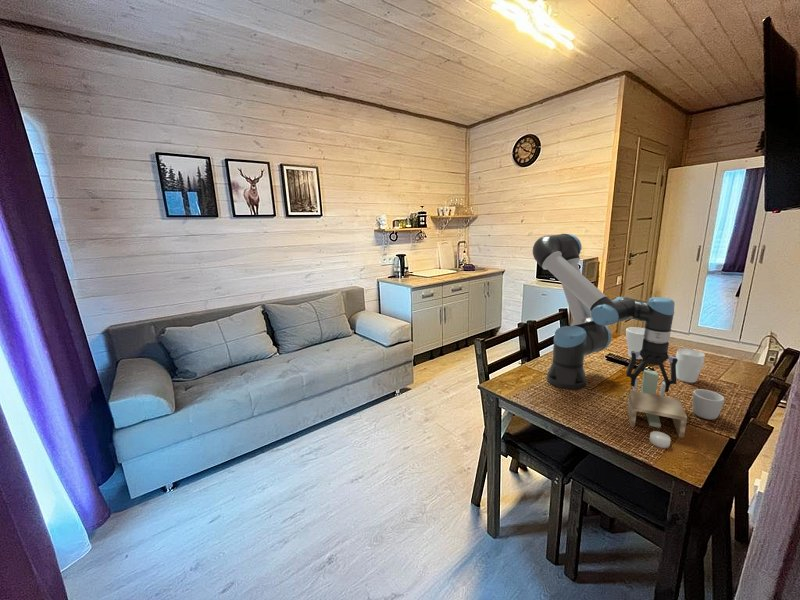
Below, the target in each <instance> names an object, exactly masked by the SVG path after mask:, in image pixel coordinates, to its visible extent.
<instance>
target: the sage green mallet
mask: <svg viewBox="0 0 800 600" xmlns="http://www.w3.org/2000/svg"><path fill="white" fill-rule="evenodd" d="M658 381H659V374H658V371H657V370H656V371H655V370H648V369H643V374H642V381H641V388H640V392H642V393H648V394H654V395H657V389H658V383H659V382H658ZM645 415H646V419H647V422H648V426H650V427H655V428H660V429H661V426H662V424H661V419H660V416H659V415H654V414H649V413H645Z"/></svg>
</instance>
